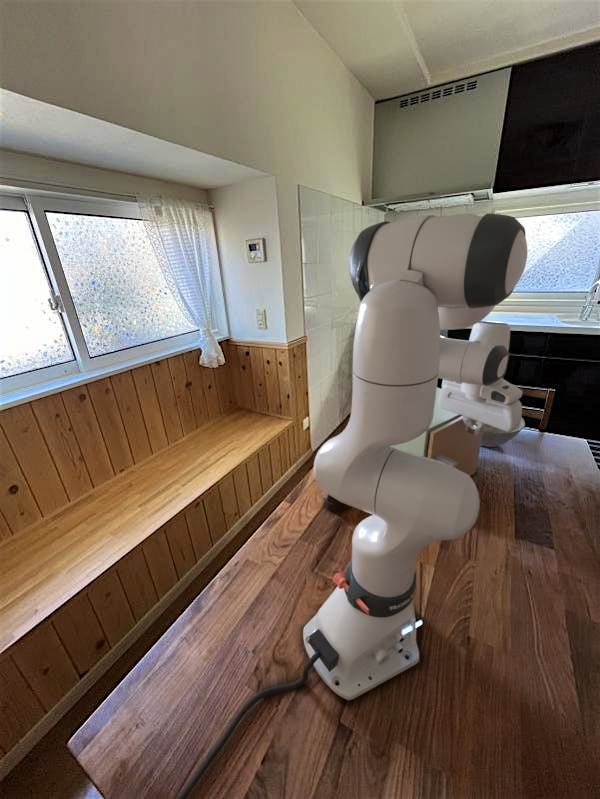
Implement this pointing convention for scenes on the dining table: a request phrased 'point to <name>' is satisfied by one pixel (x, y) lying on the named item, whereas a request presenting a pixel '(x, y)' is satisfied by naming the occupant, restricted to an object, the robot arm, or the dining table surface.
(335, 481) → the robot arm
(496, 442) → the ceramic bowl
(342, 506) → the coffee mug
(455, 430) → the cupboard door
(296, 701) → the dining table surface
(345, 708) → the dining table surface
